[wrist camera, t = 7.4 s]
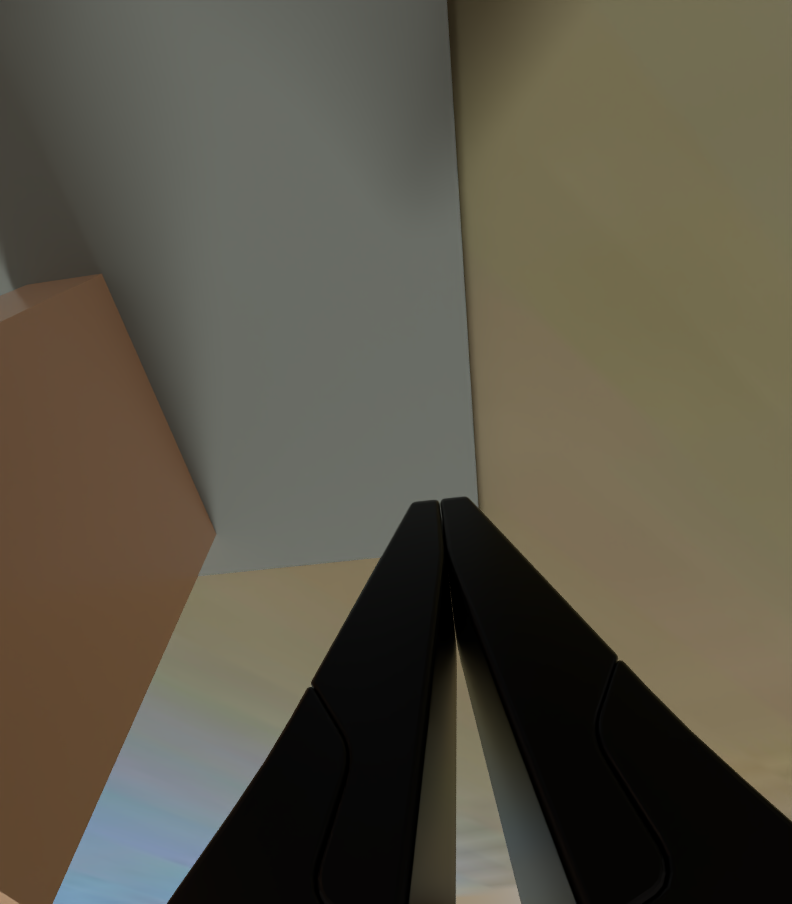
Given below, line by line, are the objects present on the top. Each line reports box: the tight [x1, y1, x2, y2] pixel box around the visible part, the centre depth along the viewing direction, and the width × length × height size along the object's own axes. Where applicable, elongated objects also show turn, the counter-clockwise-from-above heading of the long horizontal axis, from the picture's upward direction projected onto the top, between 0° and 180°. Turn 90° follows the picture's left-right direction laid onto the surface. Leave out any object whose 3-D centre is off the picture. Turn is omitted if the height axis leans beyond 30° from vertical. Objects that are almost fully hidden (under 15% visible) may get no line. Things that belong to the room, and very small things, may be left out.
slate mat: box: [0, 0, 478, 576], centre depth 9 cm, size 16×22×1 cm
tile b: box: [0, 274, 216, 904], centre depth 9 cm, size 2×7×8 cm, turn 8°
